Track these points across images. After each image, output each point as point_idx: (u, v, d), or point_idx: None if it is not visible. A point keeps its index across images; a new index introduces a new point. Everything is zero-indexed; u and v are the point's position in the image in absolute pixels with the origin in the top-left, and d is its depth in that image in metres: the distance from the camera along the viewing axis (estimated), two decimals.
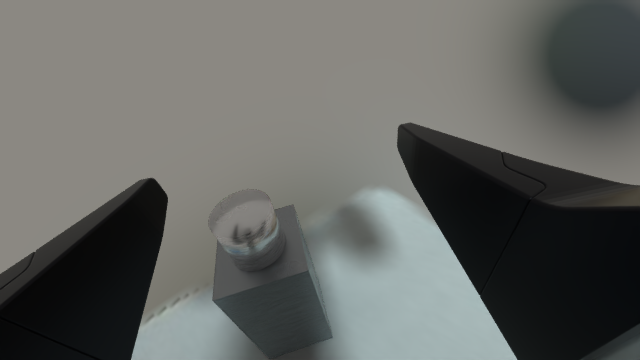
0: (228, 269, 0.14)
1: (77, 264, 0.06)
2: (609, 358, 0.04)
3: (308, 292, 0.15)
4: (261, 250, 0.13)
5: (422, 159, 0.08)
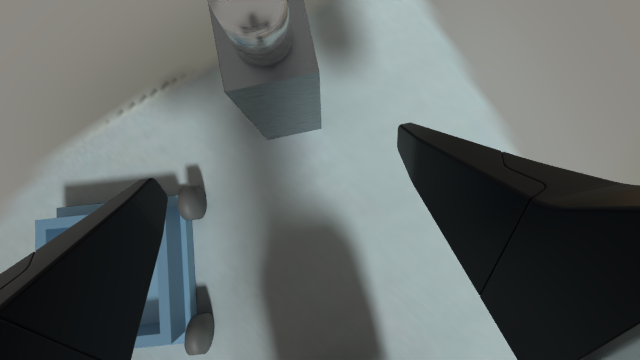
0: (233, 61, 0.13)
1: (76, 264, 0.06)
2: (609, 358, 0.04)
3: (312, 92, 0.15)
4: (272, 45, 0.12)
5: (422, 159, 0.08)
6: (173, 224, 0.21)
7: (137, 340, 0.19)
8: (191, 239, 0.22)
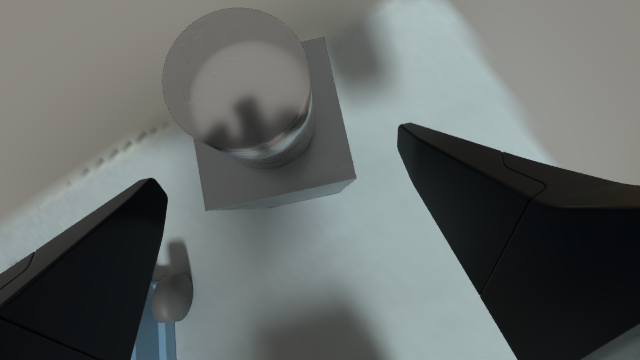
0: (220, 160, 0.08)
1: (77, 264, 0.06)
2: (609, 358, 0.04)
3: (339, 186, 0.10)
4: (283, 152, 0.07)
5: (422, 159, 0.08)
6: (147, 330, 0.16)
7: None
8: (173, 339, 0.17)
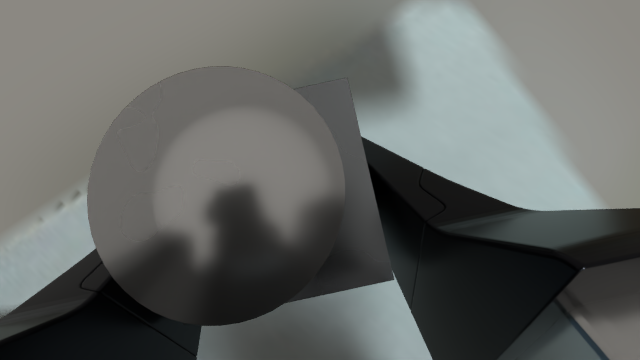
0: None
1: None
2: None
3: None
4: None
5: None
6: None
7: None
8: None
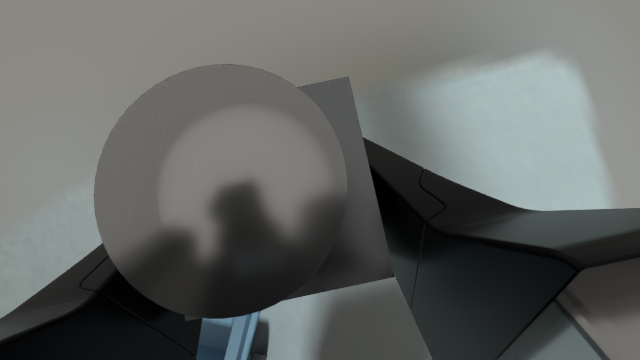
0: None
1: None
2: None
3: None
4: None
5: None
6: None
7: None
8: None
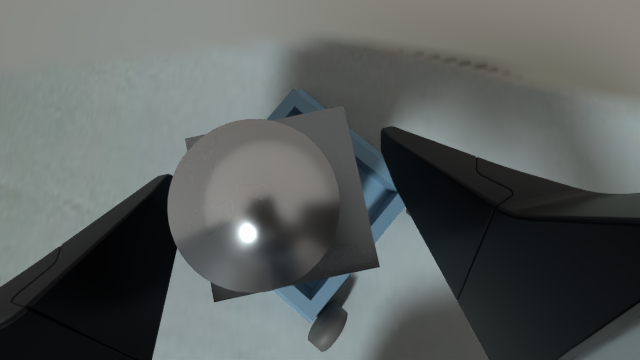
0: None
1: (102, 259, 0.06)
2: None
3: None
4: None
5: (402, 163, 0.08)
6: None
7: None
8: None
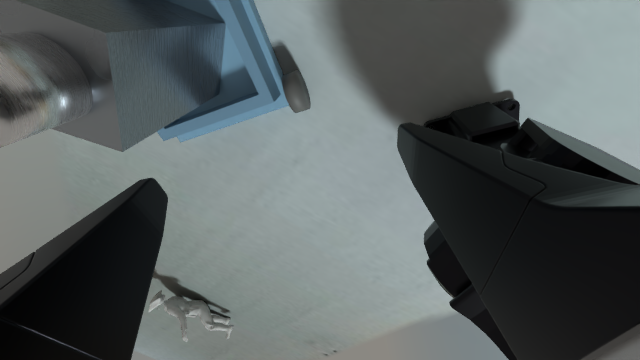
0: (85, 126, 0.11)
1: (76, 264, 0.06)
2: (609, 358, 0.04)
3: (148, 40, 0.11)
4: (52, 87, 0.09)
5: (422, 159, 0.08)
6: None
7: (240, 106, 0.18)
8: None
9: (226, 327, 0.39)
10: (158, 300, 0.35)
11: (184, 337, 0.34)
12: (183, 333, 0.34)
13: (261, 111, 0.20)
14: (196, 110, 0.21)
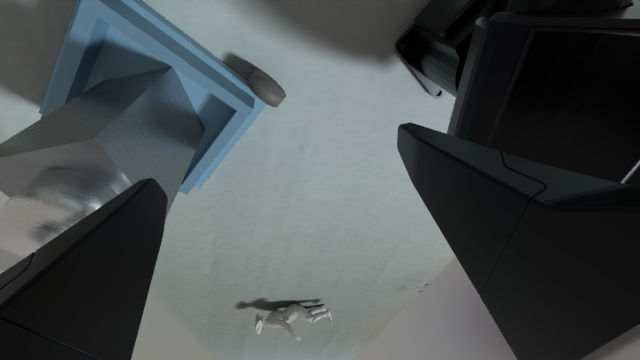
0: None
1: (76, 264, 0.06)
2: (609, 358, 0.04)
3: (126, 123, 0.12)
4: (86, 204, 0.10)
5: (422, 159, 0.08)
6: (125, 11, 0.15)
7: (228, 130, 0.19)
8: (165, 19, 0.17)
9: (324, 313, 0.42)
10: (259, 322, 0.39)
11: (296, 338, 0.39)
12: (293, 335, 0.39)
13: (247, 123, 0.21)
14: (196, 154, 0.22)
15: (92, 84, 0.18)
